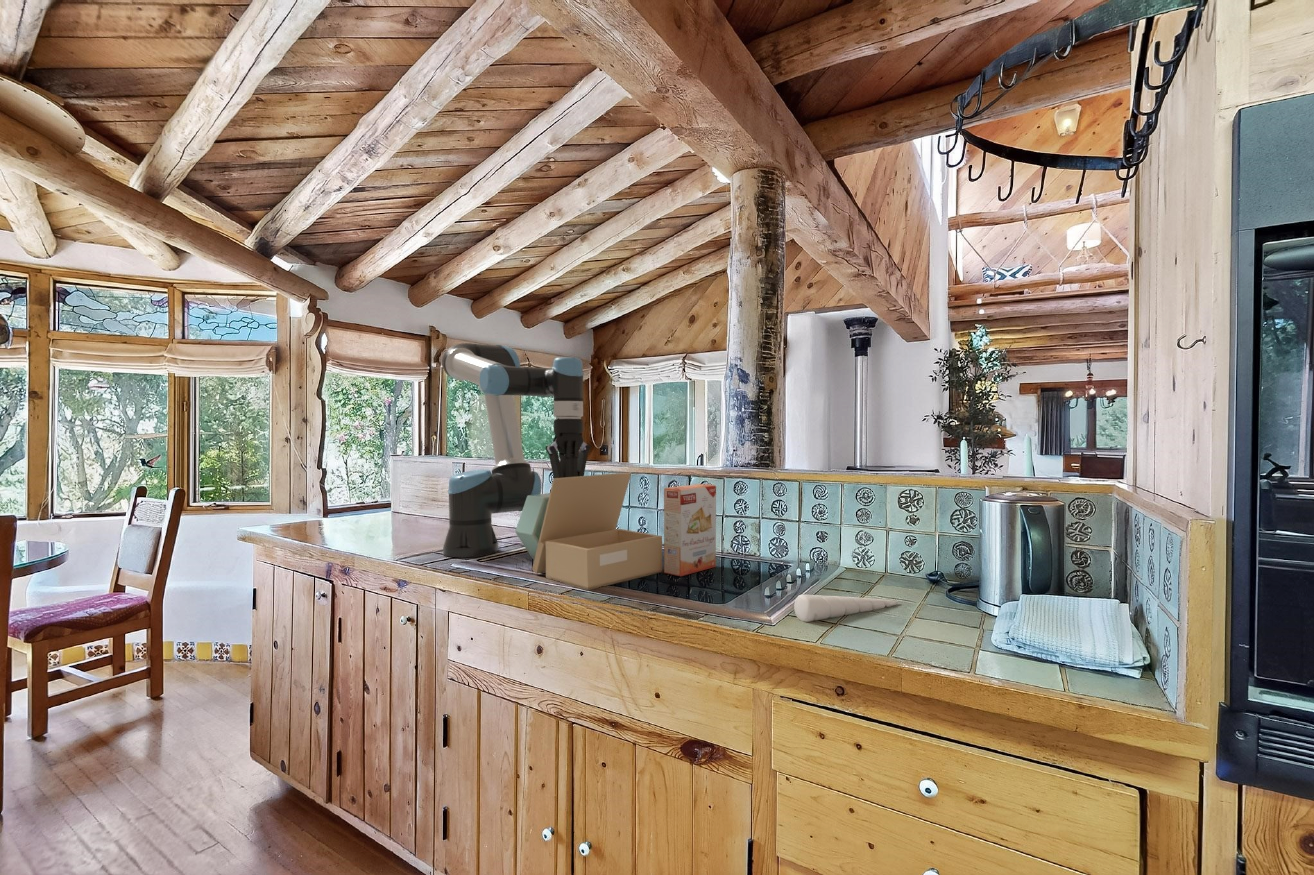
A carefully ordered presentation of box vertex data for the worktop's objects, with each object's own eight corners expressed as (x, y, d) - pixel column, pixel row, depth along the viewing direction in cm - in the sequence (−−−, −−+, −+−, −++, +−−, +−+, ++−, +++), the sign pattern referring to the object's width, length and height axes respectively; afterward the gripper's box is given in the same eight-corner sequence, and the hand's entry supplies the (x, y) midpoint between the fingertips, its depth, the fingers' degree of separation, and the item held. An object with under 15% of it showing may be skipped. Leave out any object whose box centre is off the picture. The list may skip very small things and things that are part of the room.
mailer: (546, 577, 142) (545, 540, 142) (619, 562, 158) (619, 528, 158) (587, 590, 131) (587, 550, 130) (662, 571, 147) (662, 536, 147)
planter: (558, 577, 160) (521, 518, 152) (541, 573, 166) (504, 515, 157) (598, 535, 171) (565, 478, 162) (580, 532, 176) (548, 476, 167)
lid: (536, 573, 144) (531, 569, 146) (611, 558, 161) (606, 554, 162) (558, 482, 137) (553, 478, 139) (634, 475, 154) (629, 472, 155)
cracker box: (682, 577, 141) (681, 488, 141) (662, 573, 145) (662, 487, 145) (717, 567, 151) (717, 484, 151) (699, 563, 155) (698, 483, 155)
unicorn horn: (914, 610, 115) (913, 585, 115) (807, 626, 107) (806, 599, 107) (896, 603, 119) (896, 579, 119) (792, 618, 111) (792, 592, 111)
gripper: (555, 418, 147) (556, 514, 147) (597, 418, 156) (598, 508, 156) (538, 418, 152) (539, 511, 153) (580, 418, 161) (580, 505, 162)
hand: (569, 509), depth 154 cm, fingers closed
